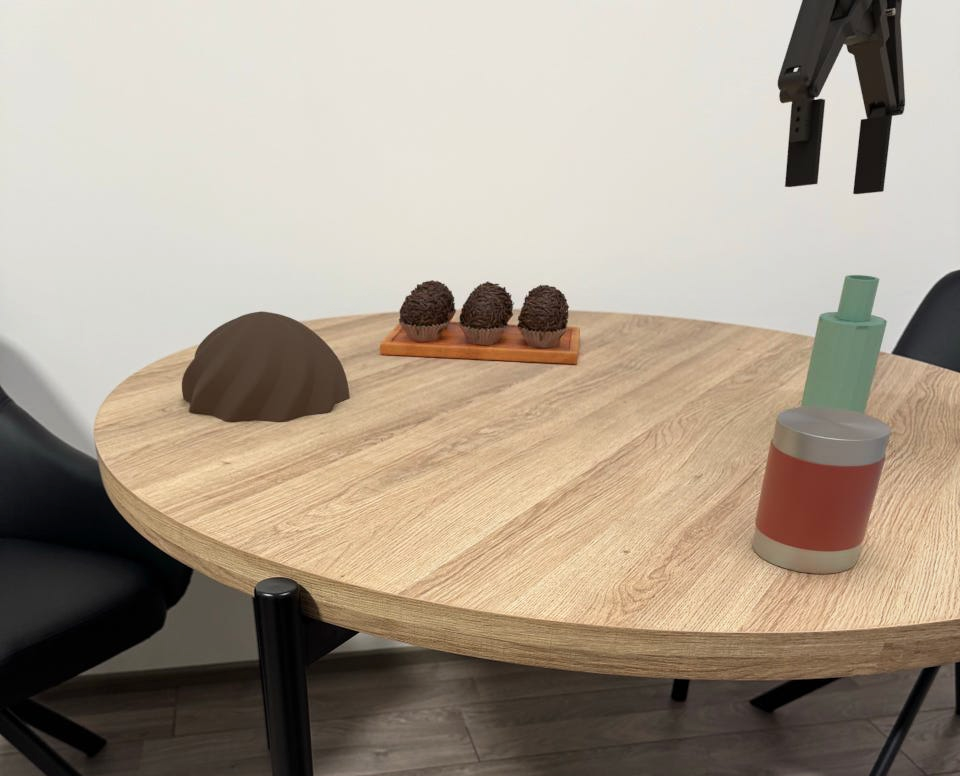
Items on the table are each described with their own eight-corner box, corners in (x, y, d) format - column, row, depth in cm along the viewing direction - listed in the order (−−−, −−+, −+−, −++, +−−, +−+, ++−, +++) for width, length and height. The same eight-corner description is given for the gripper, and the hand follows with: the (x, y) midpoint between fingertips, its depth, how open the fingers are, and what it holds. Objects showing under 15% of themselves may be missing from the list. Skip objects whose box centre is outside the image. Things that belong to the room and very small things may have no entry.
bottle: (846, 431, 104) (884, 273, 95) (864, 450, 98) (906, 284, 89) (788, 429, 104) (820, 271, 95) (803, 448, 98) (838, 282, 89)
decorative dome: (328, 371, 121) (323, 292, 116) (364, 414, 105) (360, 325, 100) (178, 381, 115) (165, 299, 110) (191, 429, 99) (178, 335, 94)
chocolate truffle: (579, 338, 141) (583, 280, 136) (577, 365, 126) (581, 301, 122) (401, 329, 143) (400, 273, 139) (380, 355, 129) (377, 292, 125)
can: (840, 532, 79) (871, 408, 73) (872, 577, 72) (909, 442, 66) (741, 528, 79) (764, 404, 74) (762, 572, 72) (790, 438, 66)
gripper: (882, -43, 88) (856, 198, 95) (747, -111, 72) (729, 186, 79) (964, -66, 83) (930, 191, 90) (838, -144, 67) (810, 177, 74)
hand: (836, 189), depth 85 cm, fingers open, 13 cm apart
